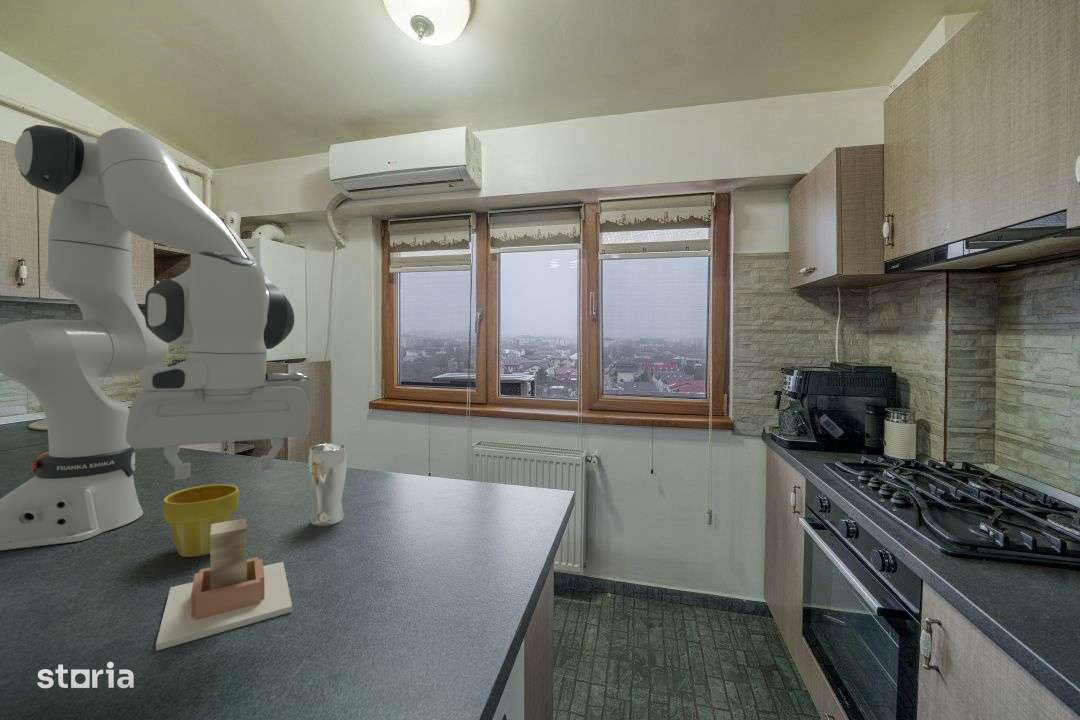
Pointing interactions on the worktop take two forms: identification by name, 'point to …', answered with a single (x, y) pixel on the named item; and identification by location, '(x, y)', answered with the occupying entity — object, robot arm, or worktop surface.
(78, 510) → the robot arm
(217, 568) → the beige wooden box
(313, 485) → the beer glass
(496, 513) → the worktop surface
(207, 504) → the plant pot
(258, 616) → the framed base plate
